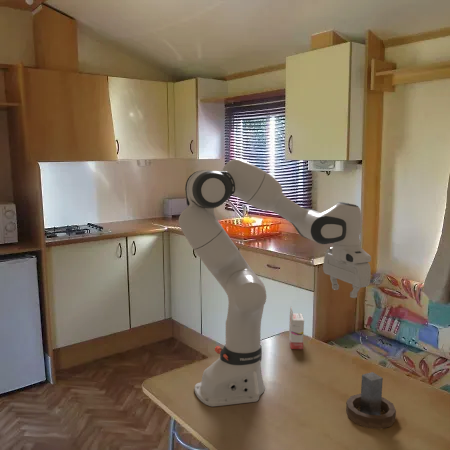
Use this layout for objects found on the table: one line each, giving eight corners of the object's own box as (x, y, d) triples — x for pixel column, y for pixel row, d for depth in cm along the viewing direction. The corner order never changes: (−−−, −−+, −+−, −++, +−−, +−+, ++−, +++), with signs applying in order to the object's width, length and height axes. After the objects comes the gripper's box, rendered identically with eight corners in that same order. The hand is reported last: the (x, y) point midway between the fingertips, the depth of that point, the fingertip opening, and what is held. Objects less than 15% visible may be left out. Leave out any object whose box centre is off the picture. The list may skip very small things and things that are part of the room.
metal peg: (369, 420, 134) (371, 380, 132) (360, 413, 138) (362, 374, 136) (380, 417, 136) (382, 378, 134) (370, 410, 139) (372, 372, 138)
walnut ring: (367, 433, 128) (368, 422, 128) (337, 408, 140) (337, 399, 140) (404, 421, 134) (405, 412, 133) (372, 399, 145) (373, 390, 145)
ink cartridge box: (303, 349, 181) (304, 313, 179) (290, 349, 182) (291, 312, 179) (301, 340, 190) (302, 305, 188) (288, 340, 190) (289, 305, 188)
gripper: (319, 246, 162) (317, 286, 164) (358, 259, 143) (356, 303, 145) (334, 245, 164) (332, 284, 166) (375, 257, 146) (372, 301, 148)
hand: (344, 293), depth 156 cm, fingers open, 8 cm apart
